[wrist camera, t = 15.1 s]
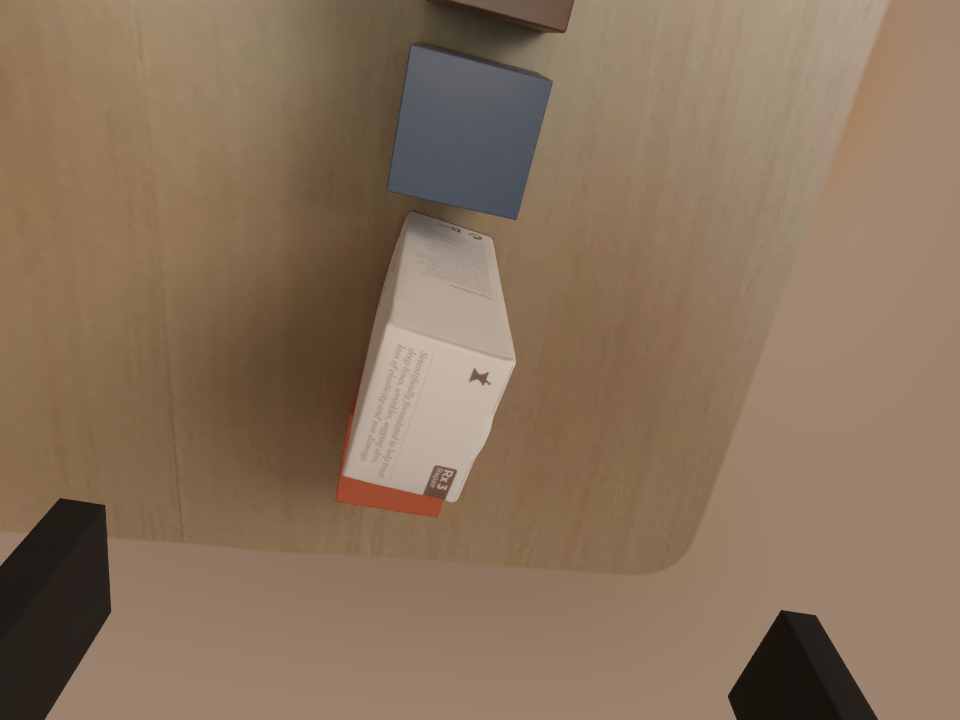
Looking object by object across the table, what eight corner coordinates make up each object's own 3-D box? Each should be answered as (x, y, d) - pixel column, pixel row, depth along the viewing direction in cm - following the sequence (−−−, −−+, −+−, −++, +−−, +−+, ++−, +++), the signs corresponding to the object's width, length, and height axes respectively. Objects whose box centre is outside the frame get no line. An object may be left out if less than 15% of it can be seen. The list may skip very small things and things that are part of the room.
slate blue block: (537, 72, 26) (553, 81, 22) (507, 191, 28) (516, 220, 24) (418, 41, 26) (410, 44, 21) (397, 165, 28) (386, 191, 23)
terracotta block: (460, 380, 33) (460, 434, 29) (440, 456, 35) (438, 518, 31) (364, 361, 32) (349, 414, 28) (350, 441, 35) (335, 501, 30)
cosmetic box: (406, 206, 29) (375, 312, 18) (499, 237, 30) (523, 355, 19) (371, 324, 31) (327, 478, 21) (458, 349, 32) (458, 510, 21)
